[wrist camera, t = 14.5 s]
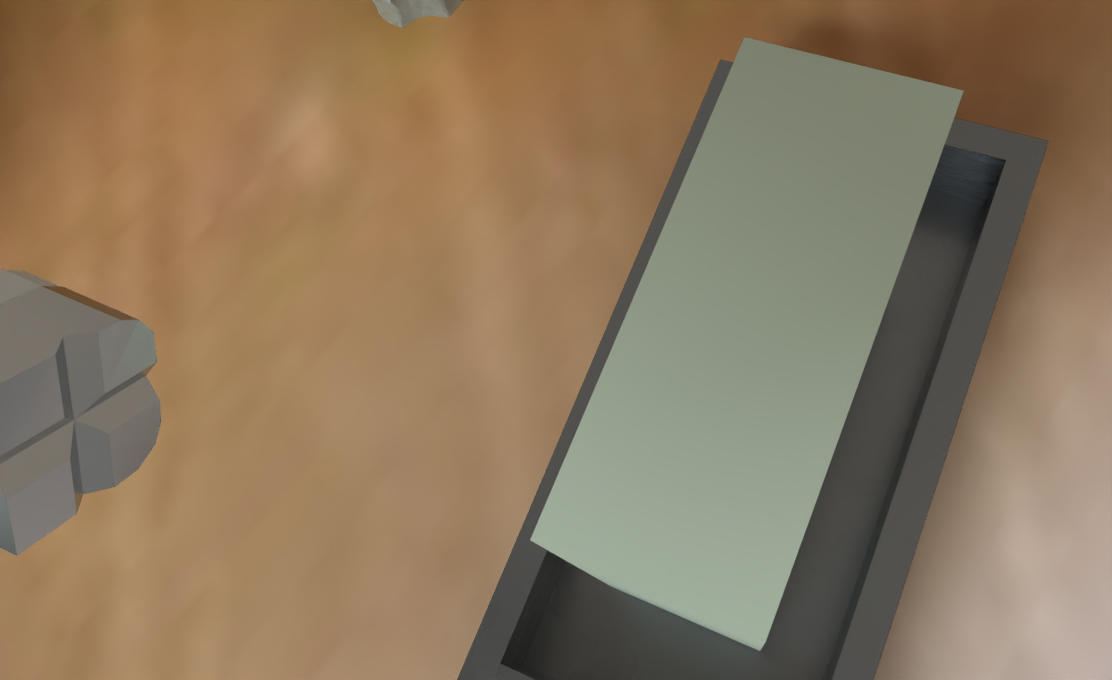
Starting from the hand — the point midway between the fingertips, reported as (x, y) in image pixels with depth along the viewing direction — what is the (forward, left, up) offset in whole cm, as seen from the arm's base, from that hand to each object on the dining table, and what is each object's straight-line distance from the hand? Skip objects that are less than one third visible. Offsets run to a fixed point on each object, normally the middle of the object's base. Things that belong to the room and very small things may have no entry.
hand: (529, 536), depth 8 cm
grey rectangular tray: (-2, +5, -18) cm, 19 cm away
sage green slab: (-2, +5, -17) cm, 18 cm away
